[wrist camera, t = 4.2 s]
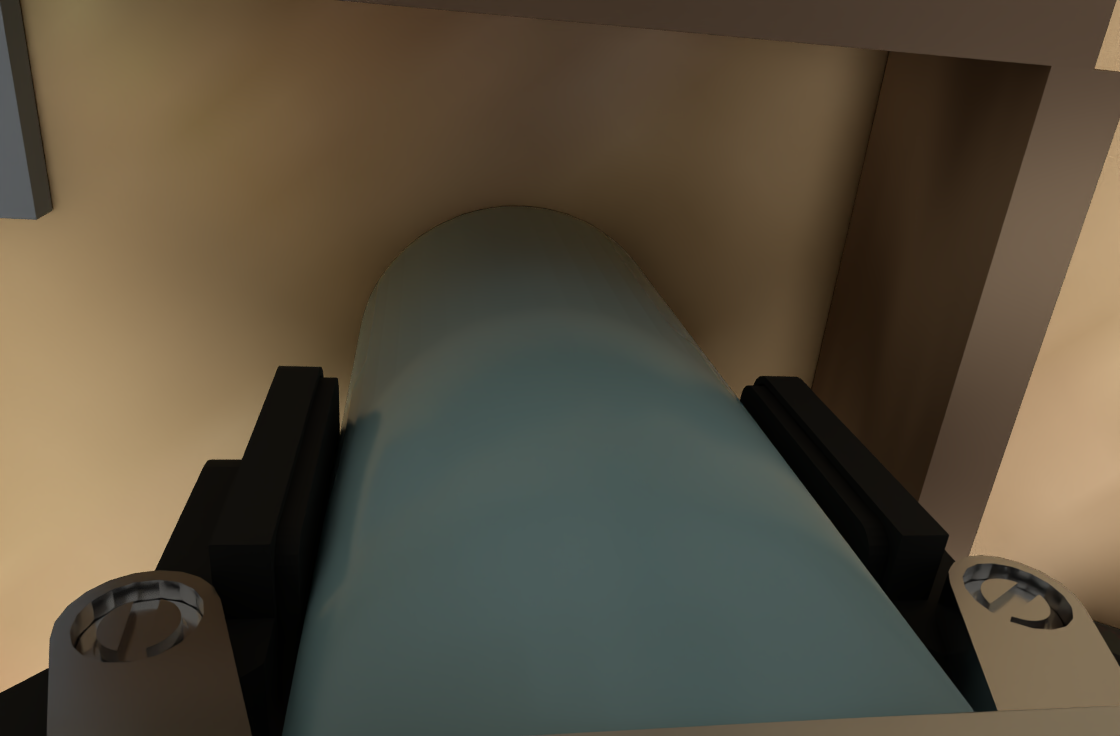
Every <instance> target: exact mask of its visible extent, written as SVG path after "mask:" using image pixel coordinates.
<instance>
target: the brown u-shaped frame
mask: <svg viewBox="0 0 1120 736" xmlns="http://www.w3.org/2000/svg"><path fill="white" fill-rule="evenodd" d="M340 1H351V2H362V3H373V4H384V5H394V6H405V7H416V8H427V9H438V10H449V11H460V12H471V13H482V14H492V15H503V16H514V17H525V18H536V19H547V20H558V21H569V22H579V23H590V24H601V25H612V26H623V27H634V28H645V29H656V30H667V31H677V32H688V33H699V34H710V35H721V36H732V37H743V38H754V39H765V40H775V41H786V42H797V43H808V44H819V45H830V46H841V47H852V48H862V49H873V50H884V51H890V52H889V56H888V61H887V65H886V69H885V74H884V78H883V82H882V87H881V91H880V95H879V100H878V104H877V108H876V113H875V117H874V121H873V126H872V130H871V134H870V139H869V143H868V147H867V152H866V156H865V160H864V165H863V169H862V174H861V178H860V182H859V187H858V191H857V195H856V200H855V204H854V208H853V213H852V217H851V221H850V226H849V230H848V234H847V239H846V243H845V247H844V252H843V256H842V260H841V265H840V269H839V273H838V278H837V282H836V286H835V291H834V295H833V299H832V304H831V308H830V312H829V317H828V321H827V325H826V330H825V334H824V338H823V343H822V347H821V351H820V356H819V360H818V364H817V369H816V373H815V377H814V382H813V386H812V391H813V392H814V393H815V394H816V395H817V396H818V397H819V398H820V399H821V401H822V402H823V403H824V404H825V405H826V406H827V407H828V408H829V409H830V410H831V411H832V412H833V413H834V414H835V415H836V416H837V417H838V418H839V419H840V420H841V422H842V423H843V424H844V425H845V426H846V427H847V428H848V429H849V430H850V431H851V432H852V433H853V434H854V435H855V436H856V437H857V438H858V439H859V440H860V441H861V443H862V444H863V445H864V446H865V447H866V448H867V449H868V450H869V451H870V452H871V453H872V454H873V455H874V456H875V457H876V458H877V459H878V460H879V461H880V463H881V464H882V465H883V466H884V467H885V468H886V469H887V470H888V471H889V472H890V473H891V474H892V475H893V476H894V477H895V478H896V479H897V480H898V481H899V482H900V484H901V485H902V486H903V487H904V488H905V489H906V490H907V491H908V492H909V493H910V494H911V495H912V496H913V497H914V498H915V499H916V500H917V501H918V502H919V503H920V505H921V506H922V507H923V508H924V509H925V510H926V511H927V512H928V513H929V514H930V515H931V516H932V517H933V518H934V519H935V520H936V521H937V522H938V523H939V524H940V526H941V527H942V528H943V529H944V530H945V531H946V532H947V533H948V534H949V538H948V541H947V544H946V547H945V550H946V552H947V553H948V554H949V555H950V556H951V557H952V558H953V559H954V560H955V561H958V560H960V559H962V558H964V557H968V556H969V553H970V551H971V548H972V545H973V542H974V539H975V536H976V533H977V530H978V527H979V524H980V522H981V519H982V516H983V513H984V510H985V507H986V504H987V501H988V498H989V495H990V493H991V490H992V487H993V484H994V481H995V478H996V475H997V472H998V469H999V467H1000V464H1001V461H1002V458H1003V455H1004V452H1005V449H1006V446H1007V443H1008V440H1009V438H1010V435H1011V432H1012V429H1013V426H1014V423H1015V420H1016V417H1017V414H1018V411H1019V409H1020V406H1021V403H1022V400H1023V397H1024V394H1025V391H1026V388H1027V385H1028V382H1029V380H1030V377H1031V374H1032V371H1033V368H1034V365H1035V362H1036V359H1037V356H1038V353H1039V351H1040V348H1041V345H1042V342H1043V339H1044V336H1045V333H1046V330H1047V327H1048V324H1049V322H1050V319H1051V316H1052V313H1053V310H1054V307H1055V304H1056V301H1057V298H1058V296H1059V293H1060V290H1061V287H1062V284H1063V281H1064V278H1065V275H1066V272H1067V269H1068V267H1069V264H1070V261H1071V258H1072V255H1073V252H1074V249H1075V246H1076V243H1077V240H1078V238H1079V235H1080V232H1081V229H1082V226H1083V223H1084V220H1085V217H1086V214H1087V211H1088V209H1089V206H1090V203H1091V200H1092V197H1093V194H1094V191H1095V188H1096V185H1097V182H1098V180H1099V177H1100V174H1101V171H1102V168H1103V165H1104V162H1105V159H1106V156H1107V154H1108V151H1109V148H1110V145H1111V142H1112V139H1113V136H1114V133H1115V130H1116V127H1117V125H1118V122H1119V119H1120V72H1117V71H1108V70H1100V69H1094V68H1095V65H1096V61H1097V58H1098V55H1099V52H1100V49H1101V46H1102V43H1103V40H1104V37H1105V34H1106V31H1107V28H1108V25H1109V22H1110V18H1111V15H1112V12H1113V9H1114V6H1115V3H1116V0H340Z"/></svg>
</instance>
